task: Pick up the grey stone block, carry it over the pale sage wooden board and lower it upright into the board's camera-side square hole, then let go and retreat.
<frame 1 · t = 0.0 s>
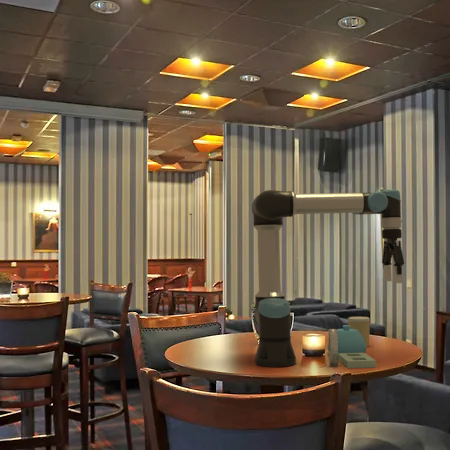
hand: (393, 282, 237), 28 cm above the table, fingers open, 13 cm apart
grey stone block: (333, 366, 214), on the table
coffee cup: (359, 346, 255), on the table
sugar bowl: (347, 355, 236), on the table
hole board: (356, 363, 217), on the table
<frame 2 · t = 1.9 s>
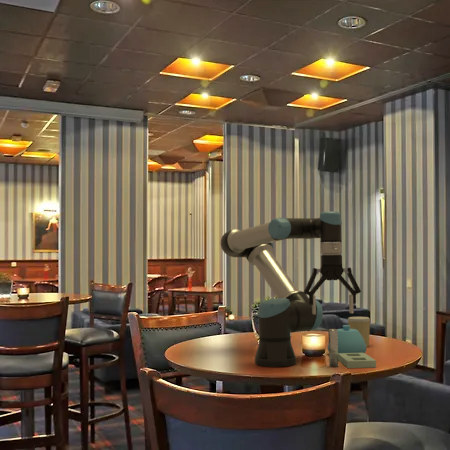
hand: (332, 313, 215), 19 cm above the table, fingers open, 13 cm apart
nothing on the table moved.
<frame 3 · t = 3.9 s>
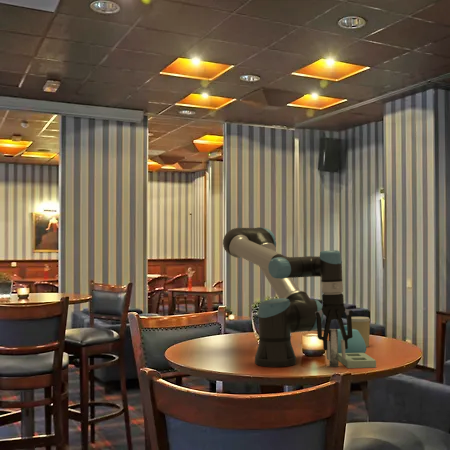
hand: (336, 358, 214), 3 cm above the table, fingers open, 5 cm apart
grey stone block: (334, 366, 214), on the table, touching gripper
everything else where it was.
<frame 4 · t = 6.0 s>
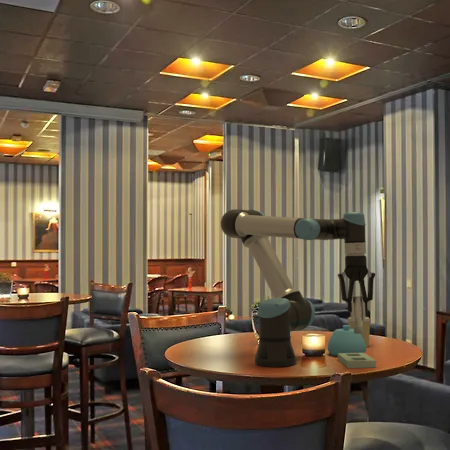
hand: (358, 320, 214), 16 cm above the table, fingers closed on grey stone block, 3 cm apart
grey stone block: (358, 333, 214), point 12 cm above the table, touching gripper
everything else where it was.
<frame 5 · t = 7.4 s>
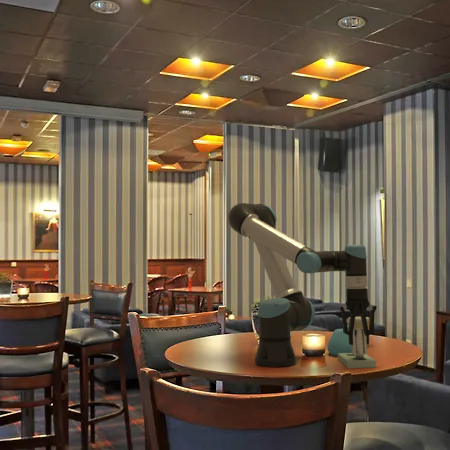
hand: (359, 353, 213), 4 cm above the table, fingers closed on grey stone block, 3 cm apart
grey stone block: (359, 365, 213), resting in hole board, touching gripper
everything else where it was.
when the fingers open (4 cm above the table, at t = 7.7 s): grey stone block stays where it is, resting in hole board.
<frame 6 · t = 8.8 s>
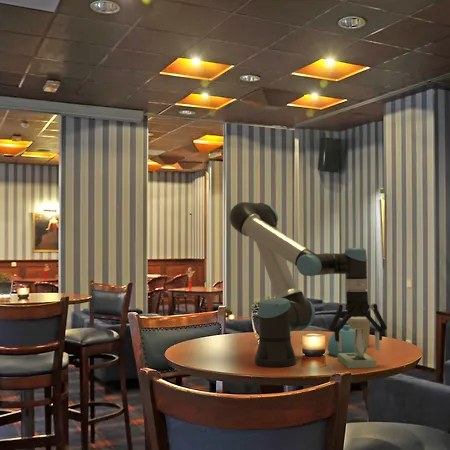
hand: (358, 350, 214), 5 cm above the table, fingers open, 13 cm apart
grey stone block: (359, 365, 213), resting in hole board
everything else where it was.
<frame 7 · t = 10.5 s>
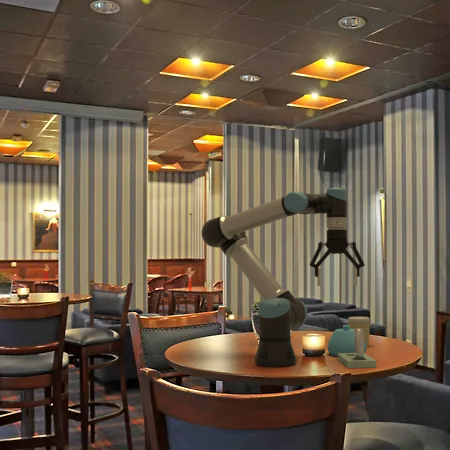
hand: (337, 285, 224), 28 cm above the table, fingers open, 13 cm apart
nothing on the table moved.
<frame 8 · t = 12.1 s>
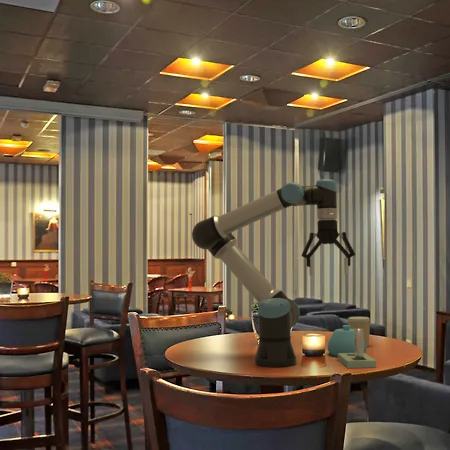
hand: (328, 275, 229), 32 cm above the table, fingers open, 13 cm apart
nothing on the table moved.
at the end: grey stone block 0.3 cm from the target spot on the hole board, point 0.0 cm above the hole board's base; grey stone block tilted 0°; the gripper is holding nothing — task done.
